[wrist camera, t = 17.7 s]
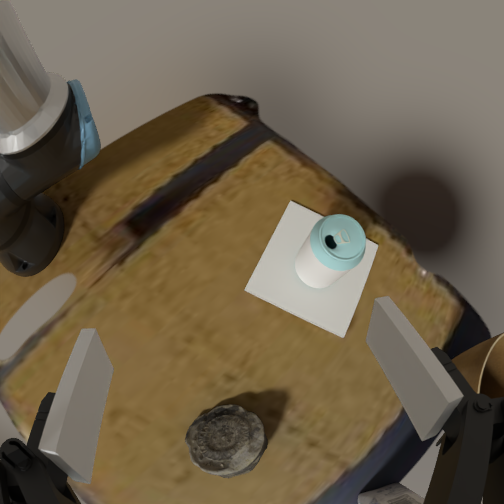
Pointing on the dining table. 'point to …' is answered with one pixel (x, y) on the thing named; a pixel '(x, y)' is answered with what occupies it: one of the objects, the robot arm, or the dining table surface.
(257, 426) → the fossil
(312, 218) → the white mat
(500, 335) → the plant pot
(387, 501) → the juice carton
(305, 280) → the can
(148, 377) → the dining table surface
